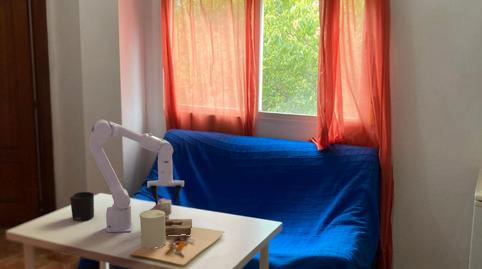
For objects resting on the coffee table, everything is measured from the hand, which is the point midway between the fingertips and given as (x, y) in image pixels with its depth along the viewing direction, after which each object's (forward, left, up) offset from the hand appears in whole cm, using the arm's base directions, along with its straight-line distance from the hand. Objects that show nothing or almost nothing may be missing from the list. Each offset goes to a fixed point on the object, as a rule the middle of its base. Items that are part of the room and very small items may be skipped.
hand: (166, 203), depth 204 cm
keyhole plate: (+3, -9, -9) cm, 13 cm away
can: (-3, -21, -9) cm, 23 cm away
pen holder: (-36, +8, -9) cm, 38 cm away
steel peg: (0, 0, -9) cm, 9 cm away
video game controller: (-5, +15, -9) cm, 18 cm away
